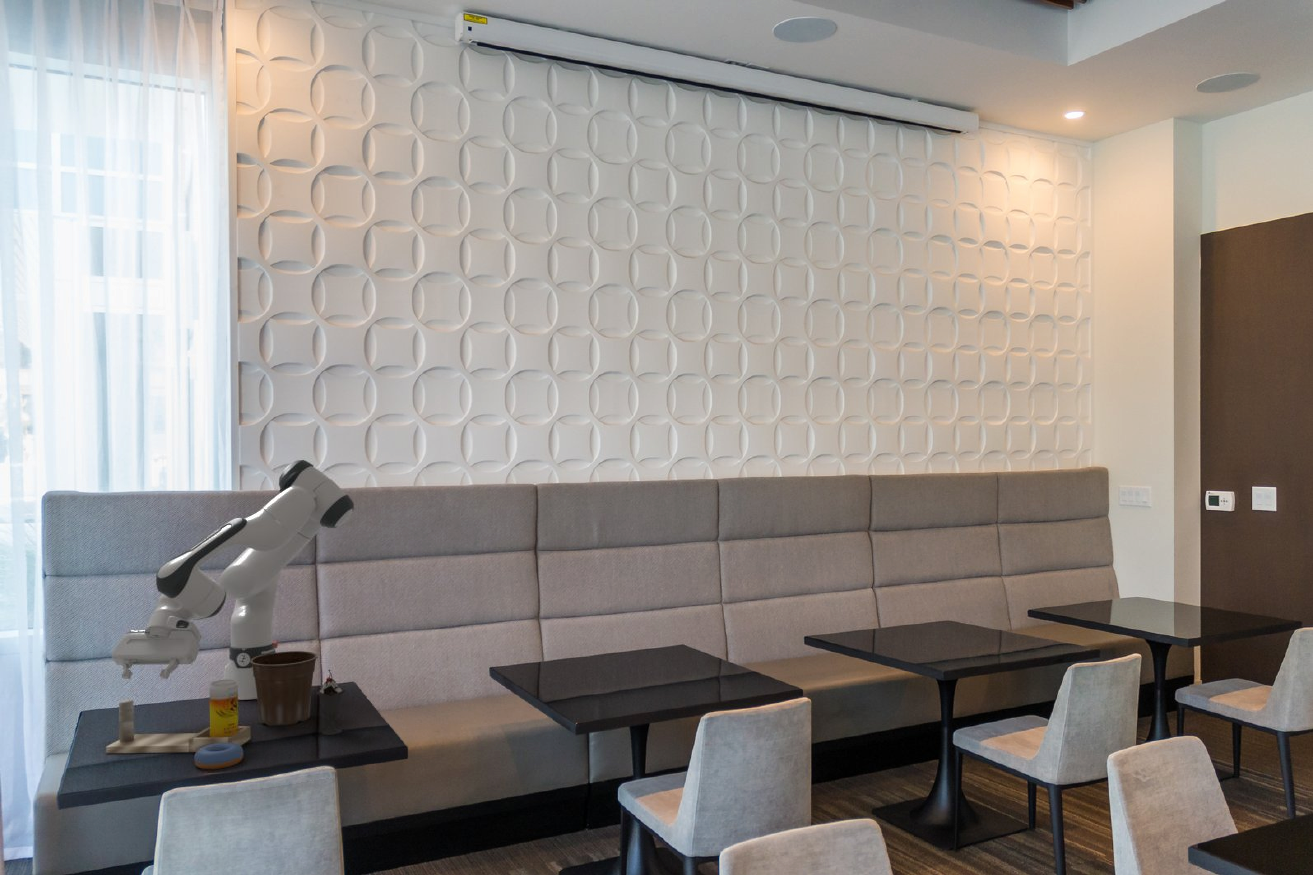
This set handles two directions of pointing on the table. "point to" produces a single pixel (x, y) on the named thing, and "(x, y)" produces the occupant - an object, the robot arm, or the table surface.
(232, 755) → the doughnut
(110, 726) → the table surface
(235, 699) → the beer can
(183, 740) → the wooden peg stand
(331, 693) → the sundae
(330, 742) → the table surface
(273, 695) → the plant pot
